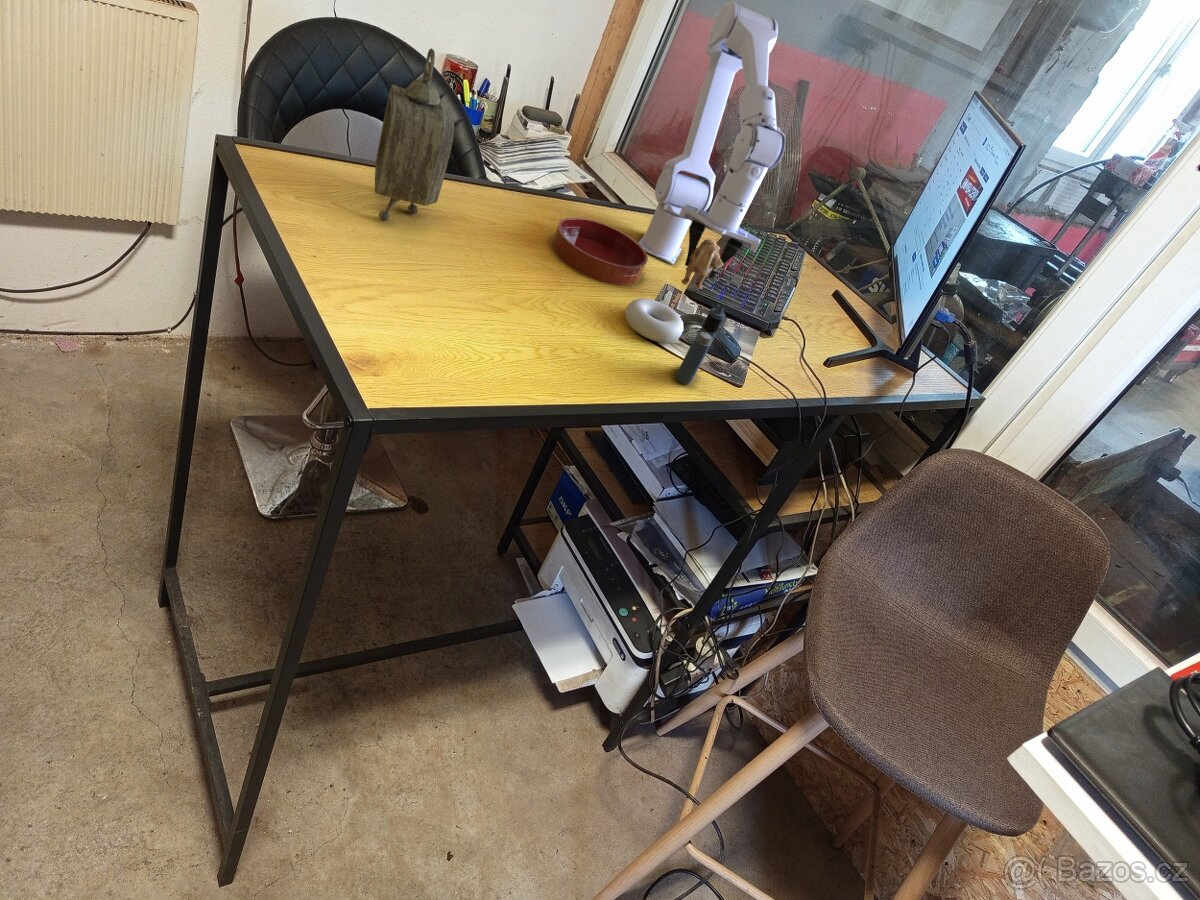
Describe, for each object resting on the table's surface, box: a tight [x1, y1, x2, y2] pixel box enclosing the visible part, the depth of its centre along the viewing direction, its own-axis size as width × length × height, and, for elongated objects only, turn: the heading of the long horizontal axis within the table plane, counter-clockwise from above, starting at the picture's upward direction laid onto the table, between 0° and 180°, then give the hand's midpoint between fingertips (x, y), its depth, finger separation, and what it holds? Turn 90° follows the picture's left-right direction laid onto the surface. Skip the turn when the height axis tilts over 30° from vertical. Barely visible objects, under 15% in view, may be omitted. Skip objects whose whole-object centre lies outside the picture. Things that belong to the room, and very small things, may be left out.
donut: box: [624, 298, 684, 344], centre depth 125 cm, size 10×3×10 cm
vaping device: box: [675, 304, 726, 386], centre depth 114 cm, size 3×5×12 cm, turn 161°
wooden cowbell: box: [374, 48, 455, 222], centre depth 118 cm, size 14×9×25 cm, turn 14°
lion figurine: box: [680, 239, 725, 290], centre depth 135 cm, size 15×5×9 cm, turn 173°
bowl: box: [551, 217, 649, 286], centre depth 138 cm, size 17×17×4 cm
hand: (699, 269), depth 137 cm, fingers closed on lion figurine, 4 cm apart
